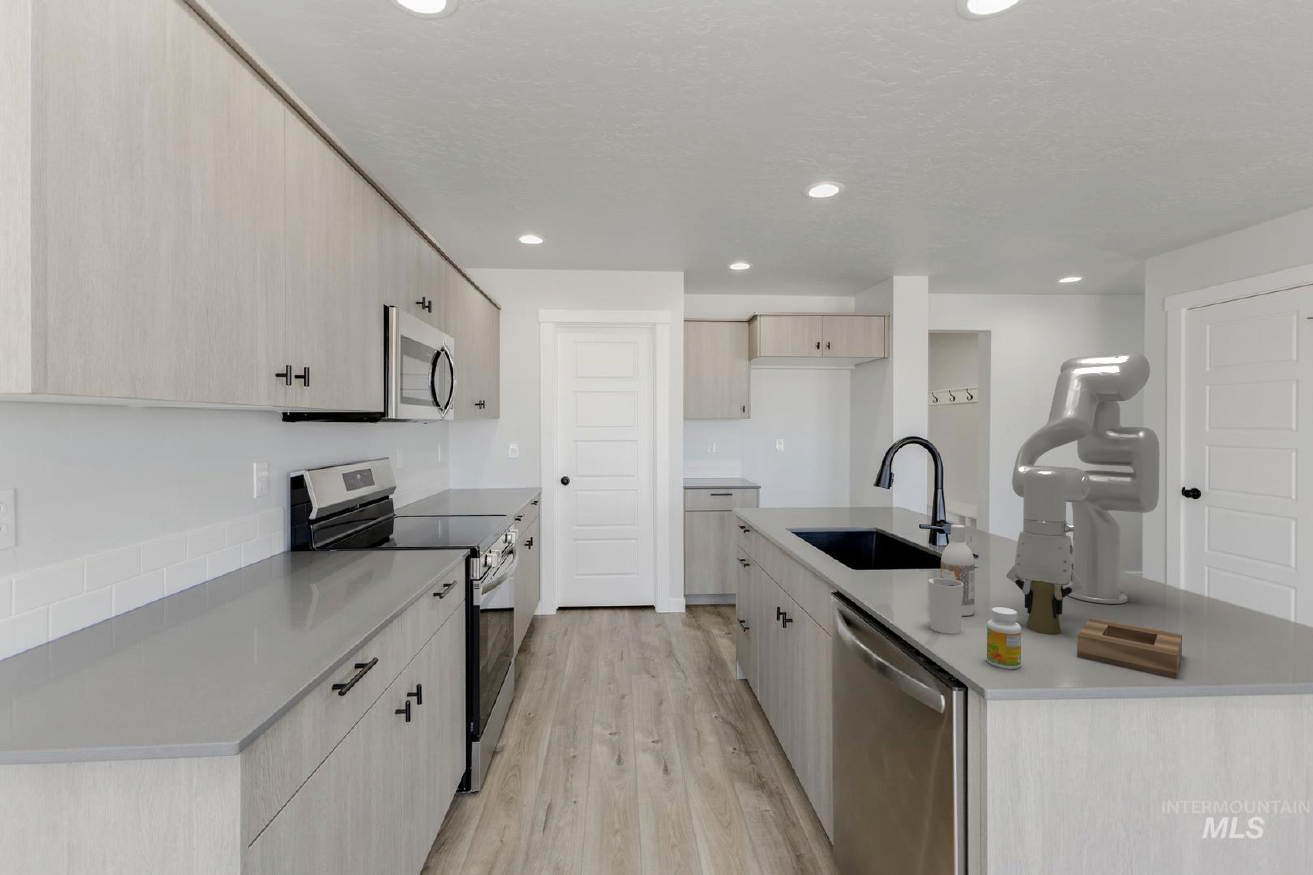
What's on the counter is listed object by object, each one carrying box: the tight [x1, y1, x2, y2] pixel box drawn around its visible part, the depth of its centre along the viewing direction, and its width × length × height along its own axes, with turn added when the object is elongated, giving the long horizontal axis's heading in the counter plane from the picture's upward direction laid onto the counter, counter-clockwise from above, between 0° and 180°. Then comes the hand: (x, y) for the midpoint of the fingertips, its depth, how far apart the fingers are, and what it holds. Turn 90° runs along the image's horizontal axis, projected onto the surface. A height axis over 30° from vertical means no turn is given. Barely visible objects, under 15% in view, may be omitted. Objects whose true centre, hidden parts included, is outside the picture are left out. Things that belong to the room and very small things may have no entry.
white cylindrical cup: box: [928, 577, 963, 635], centre depth 127 cm, size 7×7×10 cm
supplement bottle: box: [986, 606, 1022, 670], centre depth 109 cm, size 5×5×10 cm
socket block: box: [1076, 617, 1183, 679], centre depth 112 cm, size 14×14×4 cm
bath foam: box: [940, 524, 976, 617], centre depth 138 cm, size 7×7×20 cm
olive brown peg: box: [1026, 581, 1062, 635], centre depth 127 cm, size 6×6×11 cm
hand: (1043, 613), depth 127 cm, fingers closed on olive brown peg, 3 cm apart
